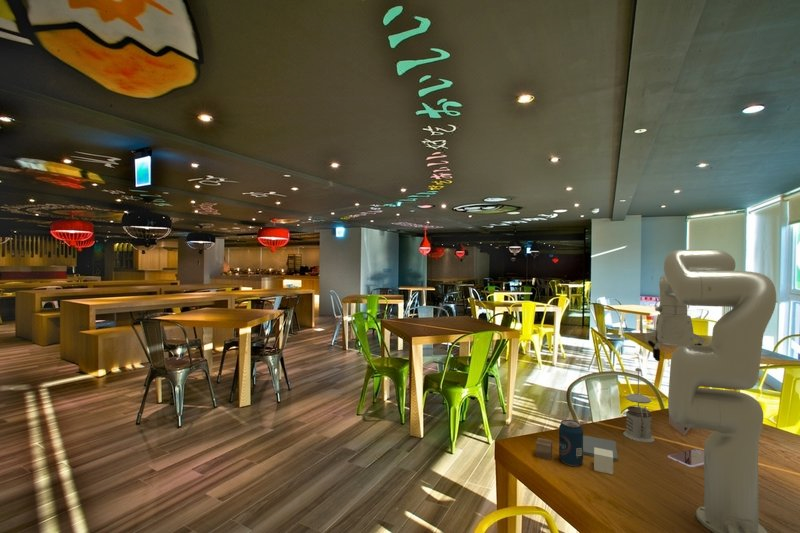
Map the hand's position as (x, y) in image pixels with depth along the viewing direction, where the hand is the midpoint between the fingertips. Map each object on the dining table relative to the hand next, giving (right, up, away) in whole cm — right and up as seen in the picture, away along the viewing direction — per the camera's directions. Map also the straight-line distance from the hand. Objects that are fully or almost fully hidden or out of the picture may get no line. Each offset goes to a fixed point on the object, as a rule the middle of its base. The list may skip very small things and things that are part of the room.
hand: (673, 361), depth 127 cm
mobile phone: (+2, -30, -6) cm, 31 cm away
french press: (-5, -30, +10) cm, 32 cm away
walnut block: (-46, -29, -5) cm, 55 cm away
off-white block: (-31, -29, -13) cm, 45 cm away
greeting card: (+14, -31, +17) cm, 38 cm away
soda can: (-39, -30, -9) cm, 50 cm away
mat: (-27, -30, +1) cm, 40 cm away
